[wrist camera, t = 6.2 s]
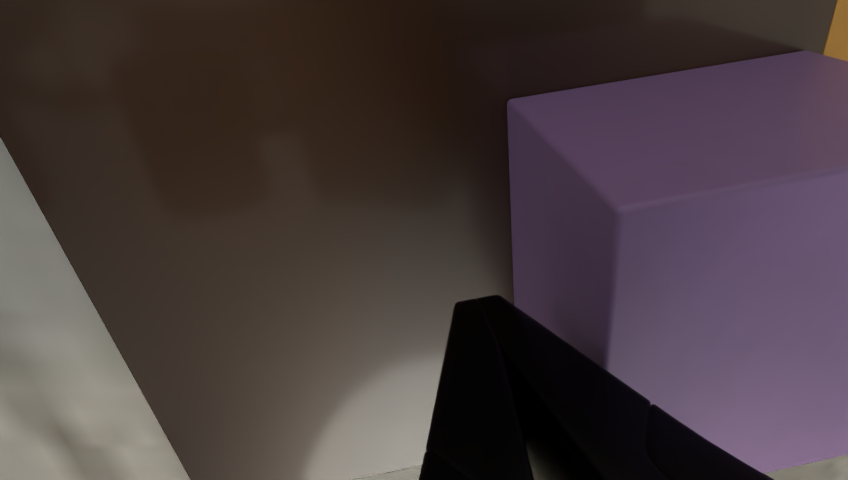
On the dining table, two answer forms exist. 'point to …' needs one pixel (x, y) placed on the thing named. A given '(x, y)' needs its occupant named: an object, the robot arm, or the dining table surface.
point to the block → (698, 244)
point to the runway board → (311, 190)
